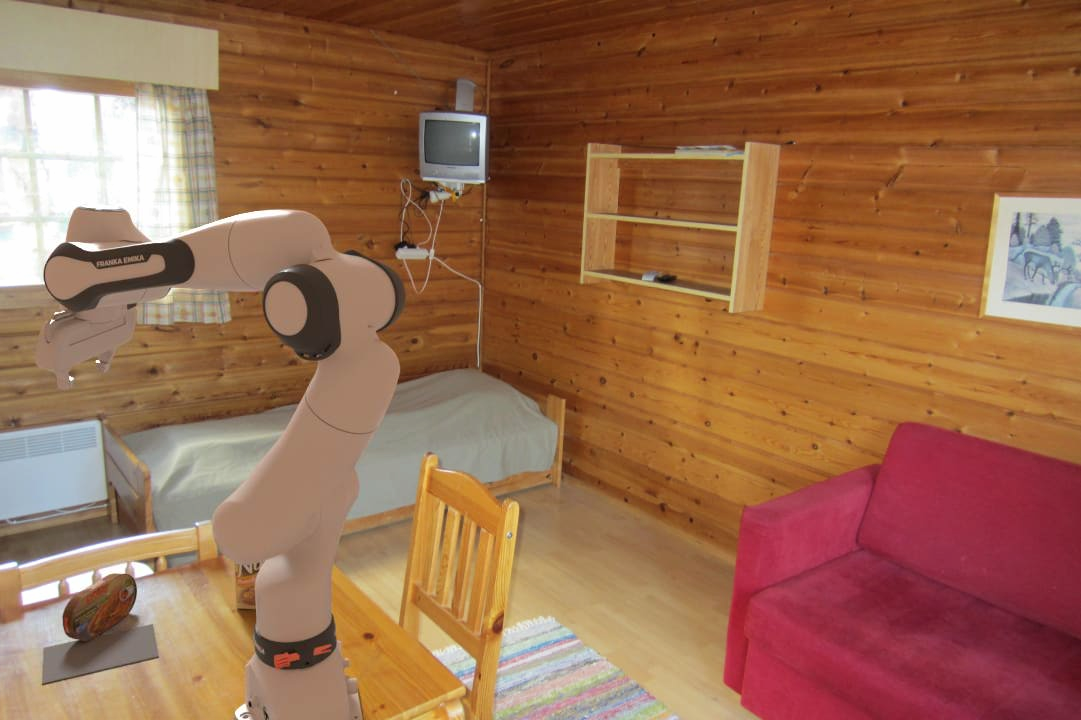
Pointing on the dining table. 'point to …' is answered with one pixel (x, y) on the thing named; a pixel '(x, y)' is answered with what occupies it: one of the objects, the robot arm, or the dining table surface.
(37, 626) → the dining table surface
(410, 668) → the dining table surface
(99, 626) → the tin
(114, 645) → the felt mat
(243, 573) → the candy box
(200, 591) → the dining table surface
